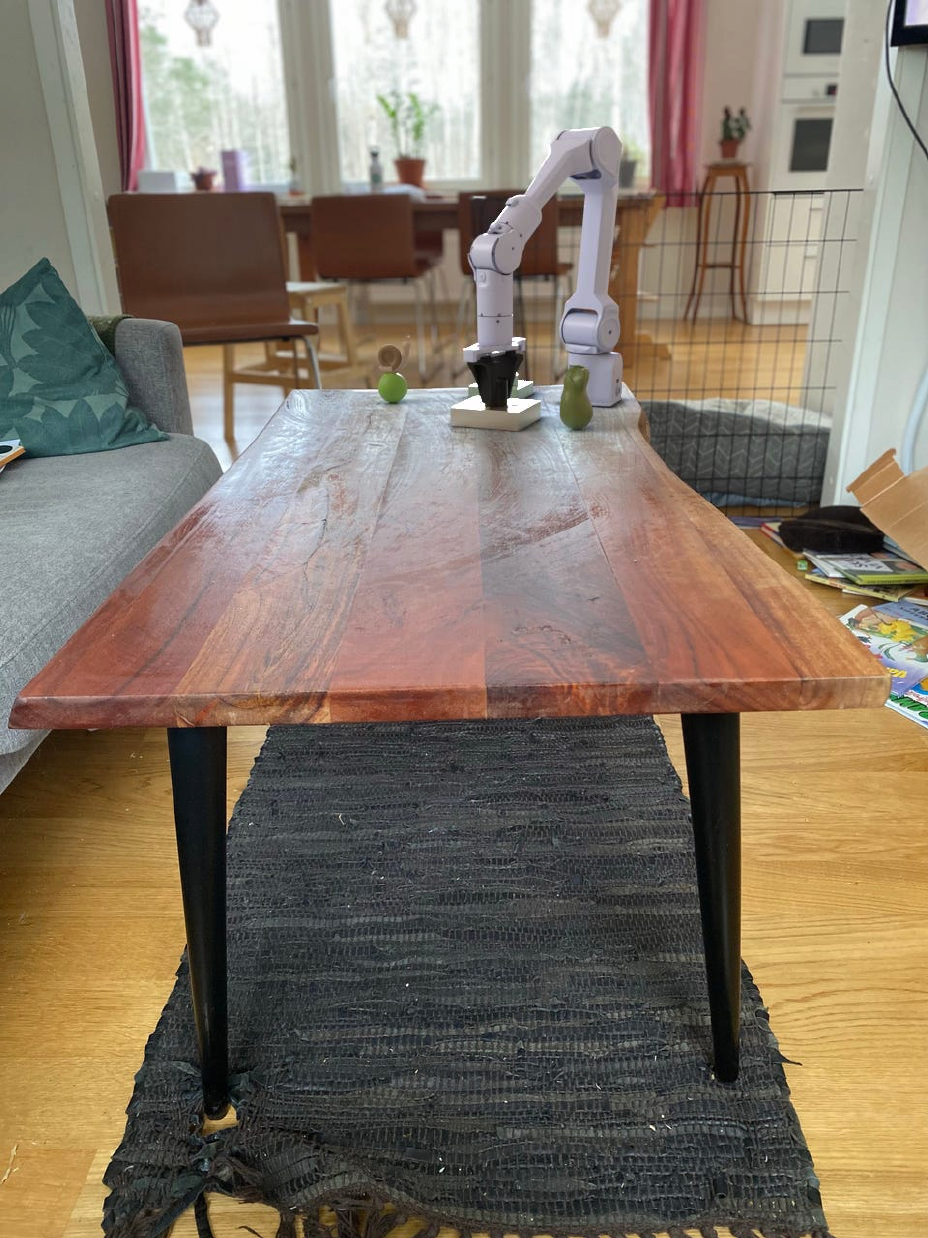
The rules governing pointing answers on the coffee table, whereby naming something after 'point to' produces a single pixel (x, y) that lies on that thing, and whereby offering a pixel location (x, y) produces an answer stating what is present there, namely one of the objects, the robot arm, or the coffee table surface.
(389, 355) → the snail figurine
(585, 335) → the robot arm
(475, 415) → the panel
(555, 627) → the coffee table surface
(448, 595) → the coffee table surface
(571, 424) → the pear
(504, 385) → the stove knob
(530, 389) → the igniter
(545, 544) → the coffee table surface
